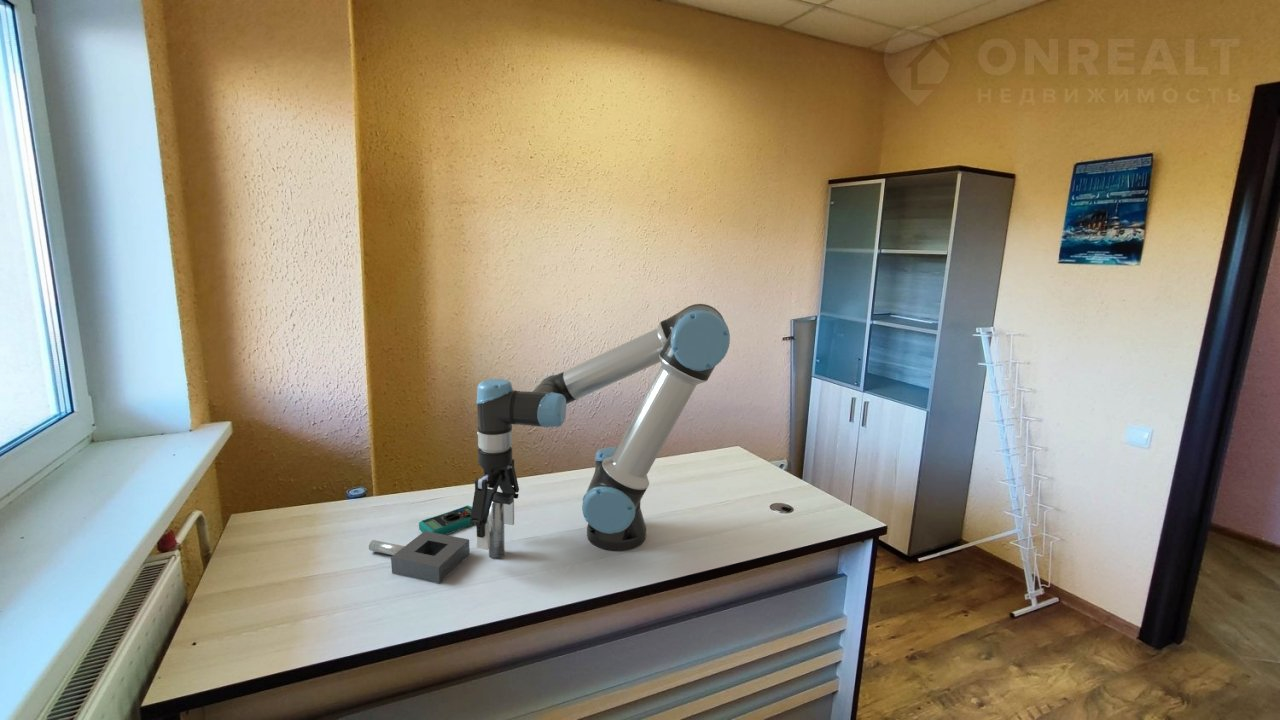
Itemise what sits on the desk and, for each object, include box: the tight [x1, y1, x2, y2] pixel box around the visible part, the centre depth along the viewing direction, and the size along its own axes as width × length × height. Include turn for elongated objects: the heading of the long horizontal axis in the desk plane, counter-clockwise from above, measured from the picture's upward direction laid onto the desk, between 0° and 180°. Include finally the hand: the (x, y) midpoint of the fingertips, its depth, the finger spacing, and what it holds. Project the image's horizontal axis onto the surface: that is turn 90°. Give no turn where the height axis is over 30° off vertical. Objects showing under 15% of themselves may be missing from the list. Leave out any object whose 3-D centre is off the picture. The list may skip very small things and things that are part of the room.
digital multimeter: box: [418, 505, 475, 535], centre depth 148 cm, size 7×15×3 cm, turn 136°
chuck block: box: [368, 531, 471, 584], centre depth 131 cm, size 22×12×4 cm, turn 75°
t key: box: [487, 491, 513, 560], centre depth 133 cm, size 8×4×16 cm, turn 75°
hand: (496, 535), depth 134 cm, fingers open, 11 cm apart
